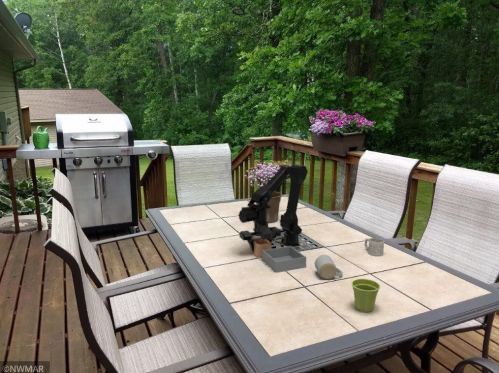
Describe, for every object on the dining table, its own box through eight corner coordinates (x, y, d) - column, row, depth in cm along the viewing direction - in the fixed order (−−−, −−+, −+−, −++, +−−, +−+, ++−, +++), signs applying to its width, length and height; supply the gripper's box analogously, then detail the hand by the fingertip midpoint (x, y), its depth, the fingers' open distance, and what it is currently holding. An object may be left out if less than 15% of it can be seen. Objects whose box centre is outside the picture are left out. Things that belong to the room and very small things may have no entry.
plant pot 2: (346, 301, 140) (347, 278, 138) (372, 300, 140) (373, 277, 139) (355, 315, 130) (357, 291, 129) (383, 314, 131) (385, 290, 129)
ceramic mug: (319, 280, 156) (320, 262, 154) (313, 272, 164) (314, 254, 162) (345, 280, 157) (346, 261, 155) (338, 271, 165) (340, 254, 163)
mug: (386, 254, 182) (387, 241, 181) (376, 257, 179) (377, 243, 178) (369, 247, 191) (370, 234, 189) (359, 250, 187) (360, 237, 186)
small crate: (263, 248, 189) (263, 237, 188) (271, 255, 181) (271, 243, 180) (249, 250, 187) (249, 238, 186) (257, 257, 179) (257, 245, 177)
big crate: (290, 256, 181) (290, 246, 180) (306, 268, 168) (306, 257, 167) (262, 260, 176) (262, 250, 175) (275, 273, 163) (276, 262, 162)
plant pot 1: (286, 219, 237) (286, 192, 234) (273, 226, 224) (273, 198, 221) (262, 215, 246) (263, 189, 242) (249, 221, 233) (248, 194, 229)
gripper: (248, 226, 170) (248, 260, 173) (286, 221, 177) (286, 254, 180) (238, 219, 180) (239, 251, 183) (275, 214, 187) (275, 246, 190)
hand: (260, 251), depth 184 cm, fingers closed on small crate, 7 cm apart
